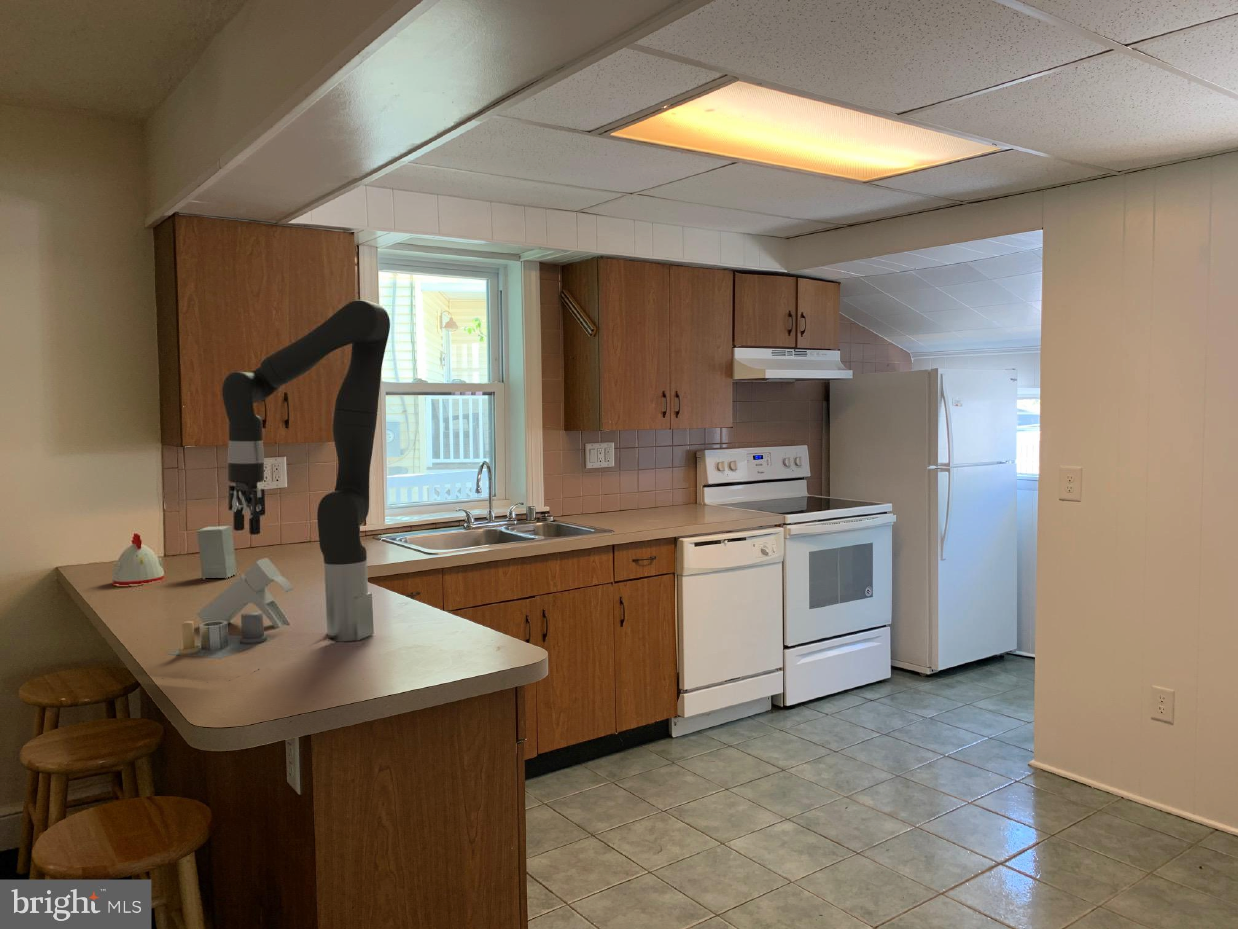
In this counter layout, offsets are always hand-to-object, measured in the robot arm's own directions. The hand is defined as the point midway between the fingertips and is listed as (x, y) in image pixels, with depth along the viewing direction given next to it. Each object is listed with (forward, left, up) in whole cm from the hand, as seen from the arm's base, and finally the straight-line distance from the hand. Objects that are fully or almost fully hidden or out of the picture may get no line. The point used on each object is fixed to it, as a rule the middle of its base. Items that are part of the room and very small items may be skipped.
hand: (246, 532), depth 206 cm
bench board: (-2, +12, -24) cm, 27 cm away
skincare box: (+62, -58, -24) cm, 88 cm away
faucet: (+6, -5, -24) cm, 25 cm away
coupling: (-1, +13, -23) cm, 26 cm away
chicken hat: (+82, -47, -24) cm, 97 cm away
